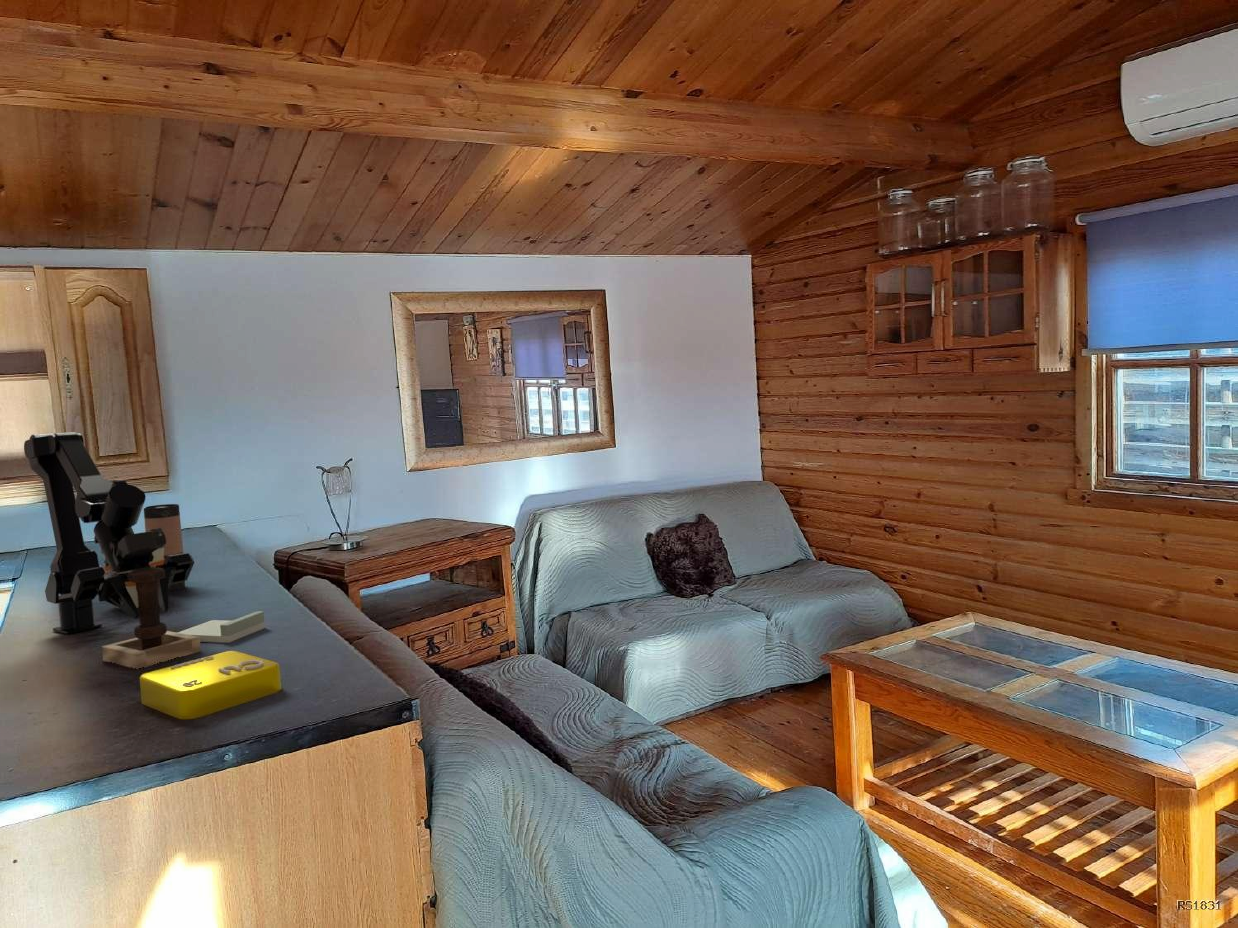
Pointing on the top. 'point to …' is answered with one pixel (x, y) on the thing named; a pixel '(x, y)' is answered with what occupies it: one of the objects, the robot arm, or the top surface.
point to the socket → (151, 650)
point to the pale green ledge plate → (227, 628)
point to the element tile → (209, 684)
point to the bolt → (148, 606)
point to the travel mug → (166, 530)
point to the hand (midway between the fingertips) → (152, 613)
